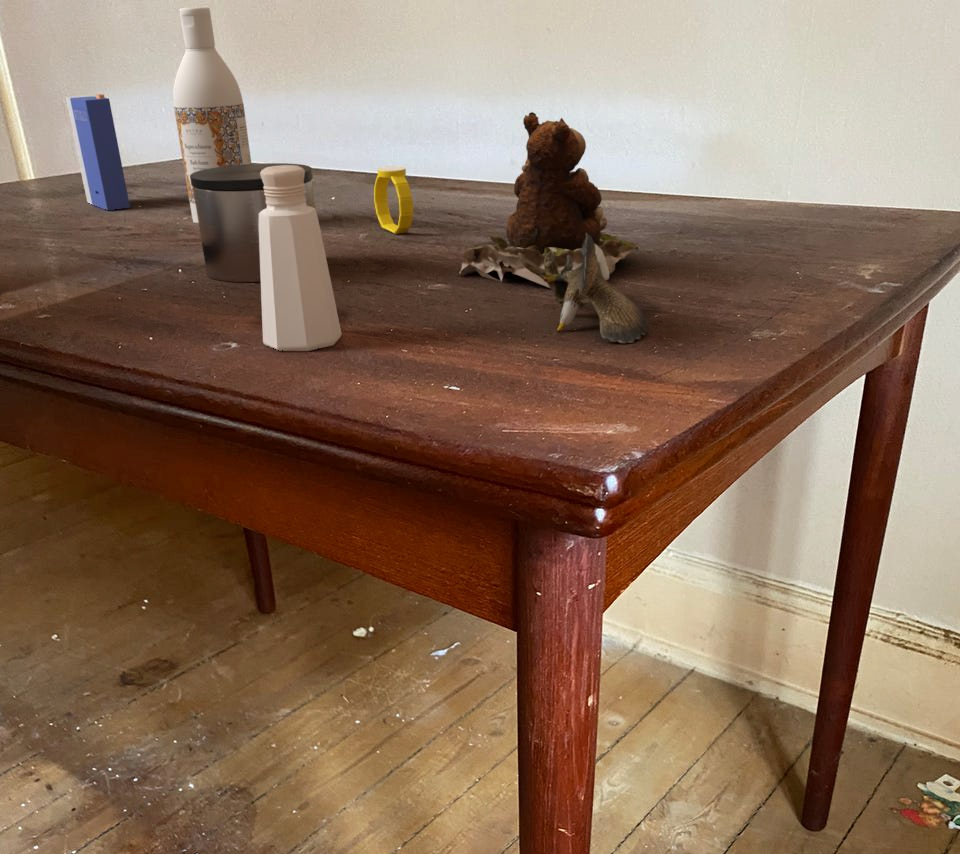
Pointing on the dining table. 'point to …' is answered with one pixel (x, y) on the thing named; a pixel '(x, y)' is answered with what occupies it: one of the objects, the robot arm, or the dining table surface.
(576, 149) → the bear figurine
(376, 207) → the watch
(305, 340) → the pepper shaker
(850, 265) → the dining table surface
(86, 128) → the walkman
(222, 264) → the canister
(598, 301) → the eagle figurine
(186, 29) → the bath foam
